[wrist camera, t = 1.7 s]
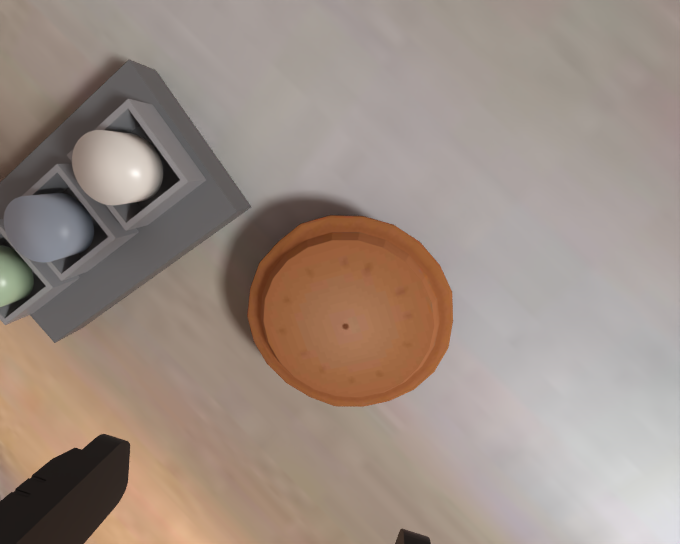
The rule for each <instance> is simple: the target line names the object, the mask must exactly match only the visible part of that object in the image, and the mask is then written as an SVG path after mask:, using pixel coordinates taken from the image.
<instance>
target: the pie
mask: <svg viewBox="0 0 680 544" xmlns="http://www.w3.org/2000/svg"><path fill="white" fill-rule="evenodd" d="M247 317H248V321H249V325H250V328H251V332H252V336H253V340H254V343H255V344H256V346H257V348H258V349H259V351H260V353H261V354H262V356H263V358H264V359H265V361H266V363H267V364H268V365H269V366H270V367H271V368H272V369H273V370H274V371H275V372H276V373H277V374H278V375H279V376H280V377H281V378H282V379H283V380H284V381H285V382H286V383H287V384H289V385H291V386H292V387H294V388H296V389H297V390H299V391H301V392H303V393H304V394H306V395H308V396H309V397H311V398H314V399H317V400H320V401H322V402H325V403H328V404H331V405H333V406H368V405H372V404H377V403H382V402H387V401H390V400H392V399H394V398H396V397H399V396H401V395H403V394H405V393H407V392H410V391H412V390H414V389H415V388H416V387H417V386H418V385H420V384H421V383H422V382H423V381H424V380H425V379H426V378H428V377H429V376H430V375H431V374H432V373H433V372H434V371H435V369H436V368H437V366H438V364H439V363H440V361H441V359H442V358H443V356H444V354H445V353H446V351H447V349H448V346H449V341H450V335H451V329H452V323H453V305H452V291H451V289H450V286H449V284H448V282H447V280H446V278H445V275H444V273H443V271H442V269H441V267H440V265H439V264H438V263H437V261H436V260H435V259H434V258H433V257H432V256H431V254H430V253H429V252H428V251H427V250H426V249H425V247H424V246H423V245H422V244H421V243H420V242H419V241H418V240H416V239H415V238H413V237H411V236H410V235H408V234H407V233H405V232H404V231H402V230H401V229H399V228H398V227H396V226H395V225H392V224H389V223H385V222H382V221H378V220H375V219H371V218H368V217H364V216H344V215H329V216H326V217H322V218H319V219H315V220H312V221H308V222H305V223H301V224H300V225H298V226H297V227H296V228H295V229H293V230H292V231H291V232H290V233H288V234H287V235H286V236H285V237H284V238H282V239H281V240H280V241H279V242H278V243H277V244H276V245H275V246H274V247H273V248H272V249H271V250H270V251H269V253H268V254H267V255H266V256H265V257H264V258H263V259H262V260H261V262H260V263H259V265H258V268H257V271H256V274H255V276H254V279H253V282H252V285H251V288H250V295H249V305H248V314H247Z"/></svg>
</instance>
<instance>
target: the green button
mask: <svg viewBox="0 0 680 544" xmlns="http://www.w3.org/2000/svg"><path fill="white" fill-rule="evenodd" d="M33 285H34V278H33V273H32V270H31V268H30V267H29V266H28V264H27V263H26V262H25V261H24V260H23V259H22V257H21V256H20V255H19V254H18V253H17V252H16V251H15V250H14V249H12V248H10V247H7V246H3V245H0V307H2V306H5V305H8V304H10V303H13V302H16V301H18V300H21V299H24V298H25V297H27V296H28V295H29V294H30V293H31V291H32V289H33Z"/></svg>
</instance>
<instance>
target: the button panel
mask: <svg viewBox="0 0 680 544" xmlns="http://www.w3.org/2000/svg"><path fill="white" fill-rule="evenodd" d="M94 130H106V131H115V132H123V133H131V134H136V135H138V136H141V137H142V138H144V139H146V140H147V141H148V142H149V143H150V144H151V145H152V146H153V147H154V148H155V150H156V151H157V153H158V155H159V157H160V159H161V162H162V166H163V180H162V184H161V187H160V188H159V190H158V192H157V193H156V194H155V195H154V196H153V197H151V198H150V199H148V200H145V201H140V202H133V203H127V204H121V205H105V204H102V203H100V202H97V201H96V200H94V199H92V198H91V197H90V196H88V195H87V194H86V193H85V192H84V190H83V189H82V188H81V186H80V185H79V183H78V182H77V180H76V177H75V175H74V171H73V167H72V154H73V150H74V147H75V145H76V143H77V141H78V140H79V139H80V138H81V137H82V136H83V135H84V134H86V133H88V132H90V131H94ZM51 193H63V194H67V195H70V196H72V197H74V198H76V199H77V200H78V201H79V202H81V203H82V204H83V205H84V207H85V208H86V209H87V211H88V212H89V214H90V216H91V218H92V221H93V225H94V237H93V240H92V243H91V245H90V246H89V247H88V248H87V249H86V250H85V251H83V252H81V253H78V254H75V255H71V256H68V257H64V258H61V259H58V260H54V261H51V262H45V263H42V262H36V261H32V260H30V259H28V258H26V257H25V256H23V255H22V254H21V253H19V252H18V251H17V250H16V249H15V248H14V246H13V245H12V244H11V242H10V240H9V239H8V237H7V234H6V232H5V228H4V213H5V210H6V207H7V206H8V204H9V203H10V202H11V201H12V200H14V199H15V198H18V197H21V196H30V195H40V194H51ZM249 208H251V206H250V204H249V203H248V201H247V200H246V199H245V197H244V196H243V194H242V193H241V191H240V190H239V189H238V187H237V186H236V184H235V183H234V181H233V180H232V179H231V177H230V176H229V174H228V173H227V171H226V170H225V169H224V167H223V166H222V164H221V163H220V161H219V160H218V158H217V157H216V156H215V154H214V153H213V151H212V150H211V148H210V147H209V146H208V144H207V143H206V141H205V140H204V138H203V137H202V136H201V134H200V133H199V131H198V130H197V128H196V127H195V126H194V124H193V123H192V121H191V120H190V118H189V117H188V116H187V114H186V113H185V111H184V110H183V108H182V107H181V106H180V104H179V103H178V101H177V100H176V98H175V97H174V96H173V94H172V93H171V91H170V90H169V88H168V87H167V86H166V84H165V83H164V81H163V80H162V78H161V77H160V76H159V74H158V73H157V71H156V70H154V69H151V68H149V67H146V66H144V65H141V64H139V63H136V62H134V61H131V60H128V61H127V62H126V63H125V64H124V65H123V66H122V67H121V68H120V69H119V70H118V71H117V72H116V73H115V74H114V75H113V76H111V77H110V78H109V79H108V80H107V81H106V82H105V83H104V84H103V85H102V86H101V87H100V88H99V89H98V90H97V91H96V92H95V93H94V94H93V95H92V96H90V97H89V98H88V99H87V100H86V101H85V102H84V103H83V104H82V105H81V106H80V107H79V108H78V109H77V110H76V111H75V112H74V113H73V114H72V115H71V116H70V117H68V118H67V119H66V120H65V121H64V122H63V123H62V124H61V125H60V126H59V127H58V128H57V129H56V130H55V131H54V132H53V133H52V134H51V135H50V136H49V137H47V138H46V139H45V140H44V141H43V142H42V143H41V144H40V145H39V146H38V147H37V148H36V149H35V150H34V151H33V152H32V153H31V154H30V155H29V156H28V157H27V158H25V159H24V160H23V161H22V162H21V163H20V164H19V165H18V166H17V167H16V168H15V169H14V170H13V171H12V172H11V173H10V174H9V175H8V176H7V177H6V178H4V179H3V180H2V181H1V182H0V245H3V246H7V247H10V248H12V249H14V250H15V251H16V252H17V253H18V254H19V255H20V256H21V257H22V259H23V260H24V261H25V262H26V263H27V264H28V266H29V267H30V268H31V270H32V273H33V278H34V285H33V289H32V291H31V293H30V294H29V295H28V296H27V297H25V298H24V299H21V300H18V301H16V302H13V303H10V304H8V305H5V306H2V307H0V320H1V321H2V322H3V323H4V324H5V325H7V324H9V323H12V322H14V321H16V320H19V319H21V318H23V317H26V316H28V315H31V317H32V318H33V319H34V320H35V321H36V322H37V323H38V325H39V326H40V327H41V328H42V329H43V330H44V331H45V332H46V334H47V335H48V336H49V337H50V338H51V339H52V340H53V342H54V343H56V342H57V341H59V340H61V339H63V338H65V337H67V336H68V335H70V334H72V333H74V332H76V331H78V330H79V329H81V328H83V327H84V326H86V325H87V324H88V323H90V322H91V321H93V320H94V319H95V318H97V317H98V316H100V315H101V314H102V313H104V312H105V311H107V310H108V309H109V308H111V307H112V306H114V305H115V304H116V303H118V302H119V301H121V300H122V299H123V298H125V297H126V296H128V295H129V294H130V293H132V292H133V291H135V290H136V289H137V288H139V287H140V286H142V285H143V284H144V283H146V282H147V281H149V280H150V279H151V278H153V277H154V276H156V275H157V274H158V273H160V272H161V271H163V270H164V269H165V268H167V267H168V266H170V265H171V264H172V263H174V262H175V261H177V260H178V259H179V258H181V257H182V256H183V255H185V254H186V253H188V252H189V251H190V250H192V249H193V248H195V247H196V246H197V245H199V244H200V243H202V242H203V241H204V240H206V239H207V238H209V237H210V236H211V235H213V234H214V233H216V232H217V231H218V230H220V229H221V228H223V227H224V226H225V225H227V224H228V223H230V222H231V221H232V220H234V219H235V218H237V217H238V216H239V215H241V214H242V213H244V212H245V211H246V210H248V209H249Z"/></svg>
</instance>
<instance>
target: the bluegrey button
mask: <svg viewBox="0 0 680 544" xmlns="http://www.w3.org/2000/svg"><path fill="white" fill-rule="evenodd" d="M4 228H5V232H6V234H7V237H8V239H9V240H10V242H11V244H12V245H13V246H14V248H15V249H16V250H17V251H18V252H19V253H21V254H22V255H23V256H25V257H26V258H28V259H30V260H32V261H36V262H42V263H45V262H51V261H54V260H58V259H61V258H64V257H68V256H71V255H75V254H78V253H81V252H83V251H85V250H86V249H87V248H88V247H89V246H90V245H91V243H92V240H93V237H94V225H93V221H92V218H91V216H90V214H89V212H88V211H87V209H86V208H85V207H84V205H83V204H82V203H81V202H79V201H78V200H77V199H76V198H74V197H72V196H70V195H67V194H63V193H51V194H40V195H30V196H21V197H18V198H15V199H14V200H12V201H11V202H10V203H9V204H8V206H7V207H6V210H5V213H4Z"/></svg>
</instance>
